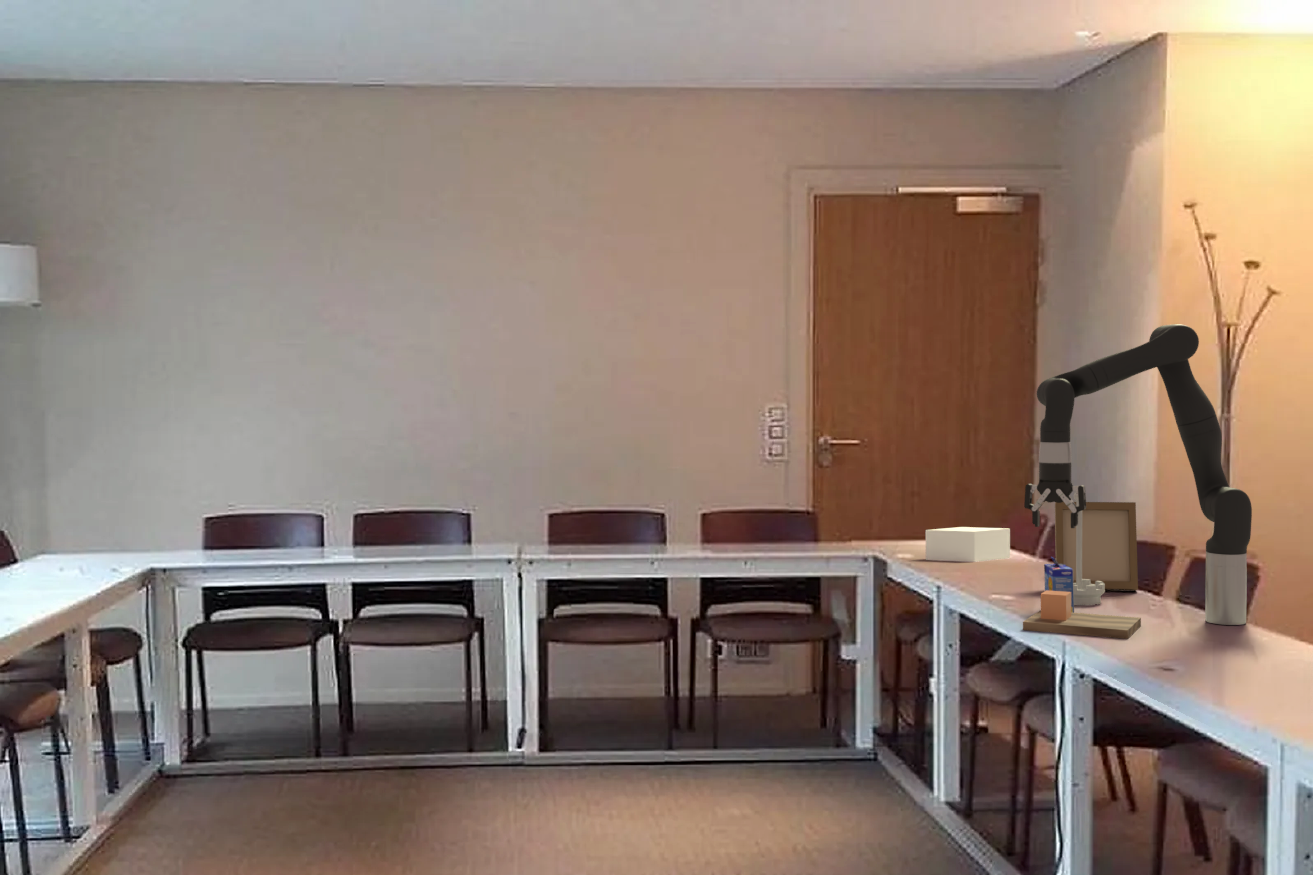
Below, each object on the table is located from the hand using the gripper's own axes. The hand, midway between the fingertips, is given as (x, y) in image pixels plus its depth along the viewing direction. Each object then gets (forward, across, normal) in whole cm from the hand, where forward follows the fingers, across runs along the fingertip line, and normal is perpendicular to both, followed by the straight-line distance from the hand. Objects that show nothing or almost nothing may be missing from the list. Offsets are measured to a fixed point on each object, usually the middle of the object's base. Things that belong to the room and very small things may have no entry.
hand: (1055, 527), depth 315 cm
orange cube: (+22, 0, 0) cm, 22 cm away
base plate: (+24, -6, 0) cm, 25 cm away
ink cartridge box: (+24, +3, -18) cm, 30 cm away
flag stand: (+24, +2, -38) cm, 45 cm away
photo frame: (+24, +3, -64) cm, 69 cm away
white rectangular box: (+24, +53, -109) cm, 124 cm away
